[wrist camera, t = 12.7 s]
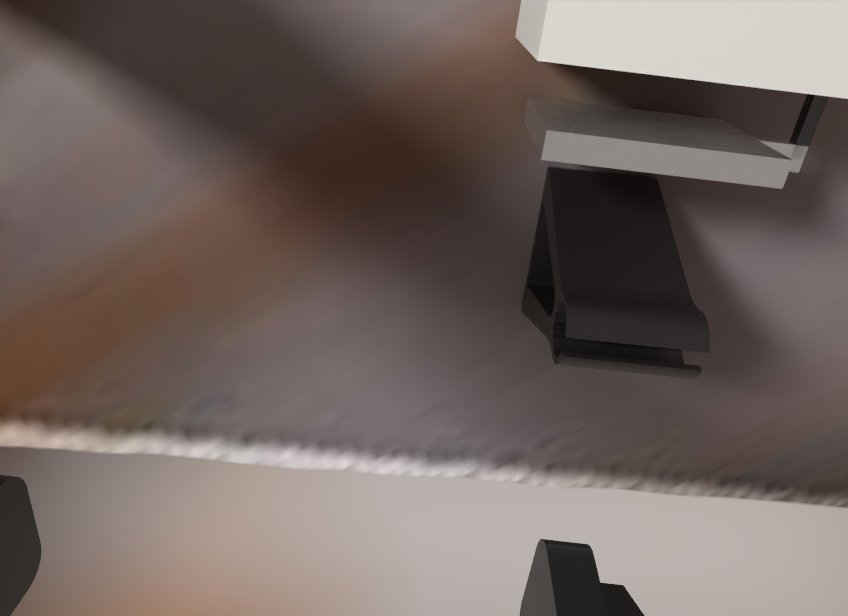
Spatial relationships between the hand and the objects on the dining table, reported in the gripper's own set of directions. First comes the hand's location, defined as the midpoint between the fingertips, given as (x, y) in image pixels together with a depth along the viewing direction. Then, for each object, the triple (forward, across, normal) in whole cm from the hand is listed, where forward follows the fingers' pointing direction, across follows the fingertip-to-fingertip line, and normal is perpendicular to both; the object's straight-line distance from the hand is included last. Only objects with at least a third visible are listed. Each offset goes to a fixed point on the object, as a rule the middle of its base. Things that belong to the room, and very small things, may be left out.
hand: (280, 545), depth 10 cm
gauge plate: (+27, -12, -6) cm, 30 cm away
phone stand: (+28, -11, +5) cm, 31 cm away
